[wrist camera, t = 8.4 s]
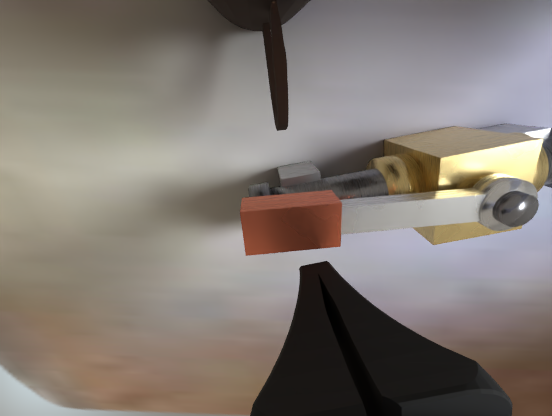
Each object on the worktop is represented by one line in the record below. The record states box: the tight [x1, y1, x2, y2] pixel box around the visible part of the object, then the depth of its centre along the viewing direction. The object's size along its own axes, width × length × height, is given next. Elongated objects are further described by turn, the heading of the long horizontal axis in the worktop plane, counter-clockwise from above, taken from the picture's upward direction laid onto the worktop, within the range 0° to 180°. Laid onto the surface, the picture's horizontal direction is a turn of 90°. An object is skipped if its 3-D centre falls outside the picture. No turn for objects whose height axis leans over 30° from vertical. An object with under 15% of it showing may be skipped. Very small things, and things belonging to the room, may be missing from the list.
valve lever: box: [240, 174, 539, 256], centre depth 12 cm, size 14×3×2 cm, turn 94°
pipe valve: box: [249, 124, 552, 245], centre depth 16 cm, size 20×5×6 cm, turn 100°
